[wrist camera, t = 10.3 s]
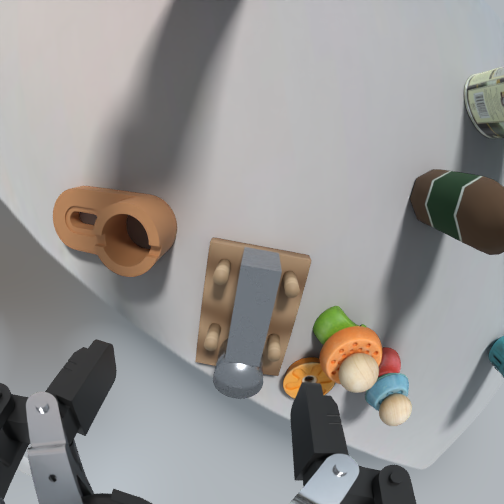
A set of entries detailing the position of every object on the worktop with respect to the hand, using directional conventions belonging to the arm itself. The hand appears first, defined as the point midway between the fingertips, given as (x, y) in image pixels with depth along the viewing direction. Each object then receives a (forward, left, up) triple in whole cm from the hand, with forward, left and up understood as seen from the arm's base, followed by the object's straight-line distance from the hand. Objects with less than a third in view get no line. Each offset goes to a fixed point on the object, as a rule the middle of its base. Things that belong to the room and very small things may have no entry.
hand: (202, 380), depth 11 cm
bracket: (+2, -17, -26) cm, 31 cm away
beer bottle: (-9, +24, -26) cm, 36 cm away
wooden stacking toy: (+17, +19, -26) cm, 37 cm away
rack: (+11, +3, -26) cm, 28 cm away
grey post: (+8, +3, -24) cm, 25 cm away
